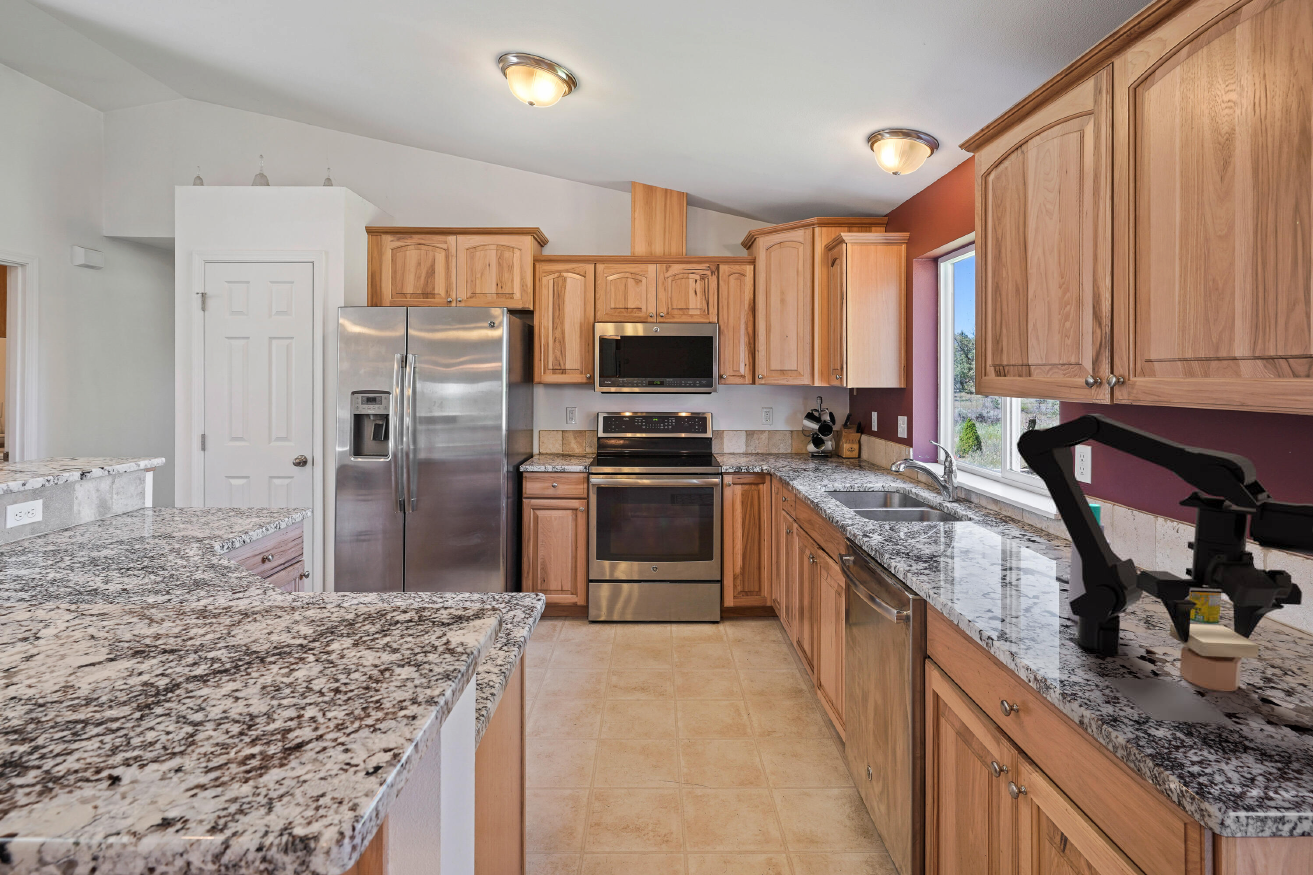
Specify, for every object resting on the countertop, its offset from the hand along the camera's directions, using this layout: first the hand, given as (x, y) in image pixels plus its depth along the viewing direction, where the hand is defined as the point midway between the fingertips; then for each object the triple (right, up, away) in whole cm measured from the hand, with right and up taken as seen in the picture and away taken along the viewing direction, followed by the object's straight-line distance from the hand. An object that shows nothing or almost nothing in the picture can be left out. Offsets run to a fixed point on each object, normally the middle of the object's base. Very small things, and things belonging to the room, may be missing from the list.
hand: (1211, 642), depth 96 cm
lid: (0, -1, 0) cm, 1 cm away
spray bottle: (-1, -4, +26) cm, 26 cm away
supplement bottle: (+19, -4, +24) cm, 31 cm away
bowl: (0, -6, +1) cm, 6 cm away
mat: (-11, -7, -5) cm, 14 cm away
